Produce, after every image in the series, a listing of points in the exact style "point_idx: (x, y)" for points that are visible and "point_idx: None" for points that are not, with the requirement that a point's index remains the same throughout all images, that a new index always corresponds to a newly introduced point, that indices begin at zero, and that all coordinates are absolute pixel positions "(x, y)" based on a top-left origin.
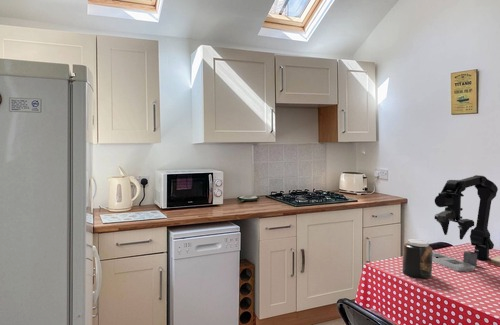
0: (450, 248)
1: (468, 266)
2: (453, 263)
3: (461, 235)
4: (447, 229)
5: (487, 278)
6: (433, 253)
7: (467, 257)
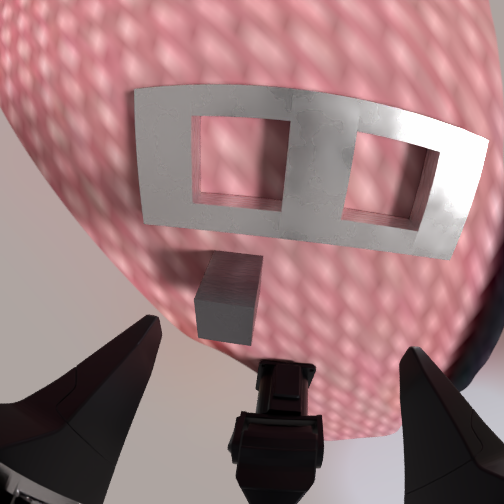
0: None
1: (138, 172)
2: (282, 199)
3: (105, 351)
4: (407, 429)
5: (57, 160)
6: (436, 213)
7: (226, 281)
